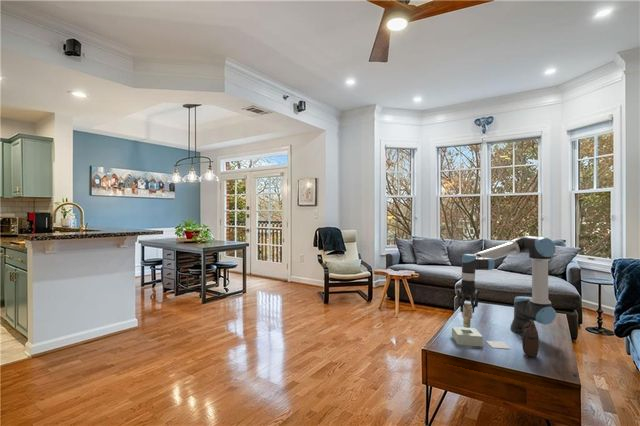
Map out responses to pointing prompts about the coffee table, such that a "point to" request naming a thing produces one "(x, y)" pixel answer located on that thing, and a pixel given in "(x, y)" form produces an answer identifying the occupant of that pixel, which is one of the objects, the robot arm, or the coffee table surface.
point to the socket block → (467, 336)
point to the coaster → (497, 344)
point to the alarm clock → (530, 340)
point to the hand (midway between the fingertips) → (467, 317)
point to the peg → (467, 315)
